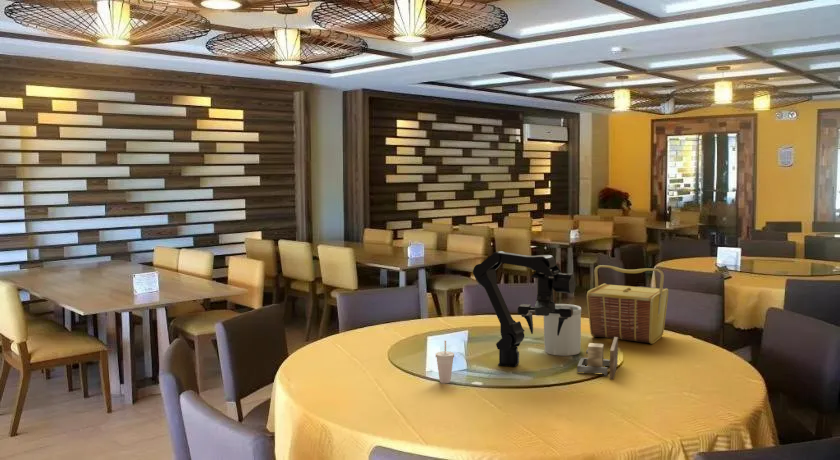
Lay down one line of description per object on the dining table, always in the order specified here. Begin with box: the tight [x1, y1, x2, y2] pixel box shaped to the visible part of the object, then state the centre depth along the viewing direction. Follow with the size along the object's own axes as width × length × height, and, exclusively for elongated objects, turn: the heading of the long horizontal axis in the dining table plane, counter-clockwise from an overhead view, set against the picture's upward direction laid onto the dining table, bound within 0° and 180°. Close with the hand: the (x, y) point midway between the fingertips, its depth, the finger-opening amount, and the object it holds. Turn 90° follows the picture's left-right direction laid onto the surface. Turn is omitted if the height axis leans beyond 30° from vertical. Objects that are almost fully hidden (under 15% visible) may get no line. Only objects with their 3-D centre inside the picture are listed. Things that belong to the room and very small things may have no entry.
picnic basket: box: [586, 264, 669, 345], centre depth 301 cm, size 29×26×30 cm
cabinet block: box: [585, 342, 605, 367], centre depth 255 cm, size 6×5×9 cm
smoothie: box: [435, 340, 455, 384], centre depth 243 cm, size 6×6×14 cm
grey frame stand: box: [576, 337, 619, 380], centre depth 254 cm, size 13×20×10 cm, turn 161°
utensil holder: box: [543, 303, 582, 357], centre depth 280 cm, size 15×15×18 cm
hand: (545, 334), depth 254 cm, fingers open, 9 cm apart
